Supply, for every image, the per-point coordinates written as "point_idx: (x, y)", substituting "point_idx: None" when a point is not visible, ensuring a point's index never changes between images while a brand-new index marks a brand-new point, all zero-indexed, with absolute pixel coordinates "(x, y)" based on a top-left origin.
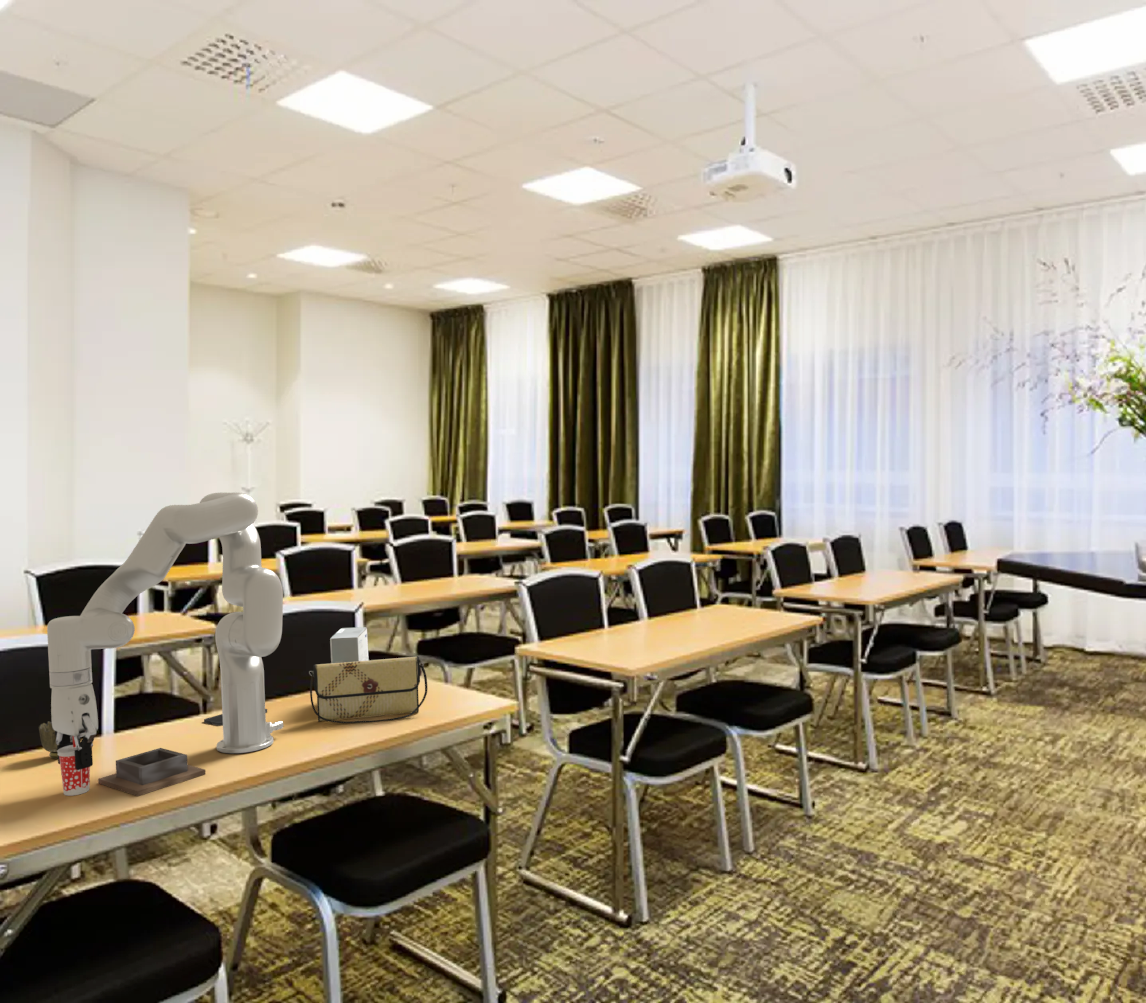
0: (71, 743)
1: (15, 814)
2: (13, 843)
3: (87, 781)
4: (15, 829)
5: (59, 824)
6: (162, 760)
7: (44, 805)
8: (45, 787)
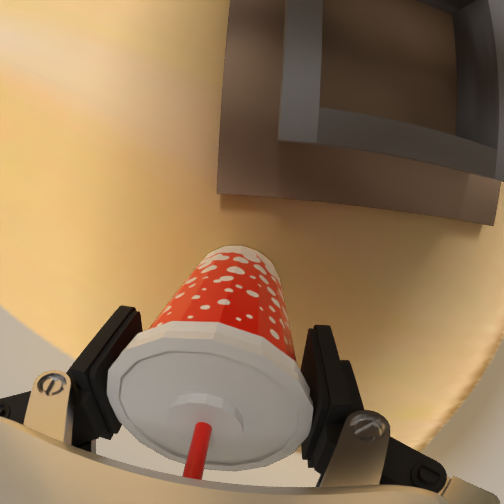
0: (97, 386)
1: None
2: None
3: (278, 286)
4: None
5: (423, 415)
6: (500, 64)
7: None
8: (95, 300)
